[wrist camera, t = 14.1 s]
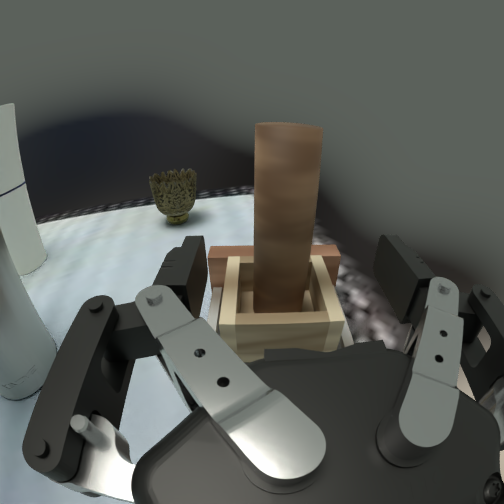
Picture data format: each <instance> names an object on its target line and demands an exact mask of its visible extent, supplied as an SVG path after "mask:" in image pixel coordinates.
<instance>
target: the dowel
mask: <svg viewBox="0 0 504 504" xmlns="http://www.w3.org/2000/svg"><path fill="white" fill-rule="evenodd" d="M322 138H323V128H321V127H318V126H313V125H307V124H299V123H285V122H283V123H282V122H265V123H257V124H255V186H254V265H253V311H254V313H293V312H301V311H302V305H303V299H304V293H305V287H306V280H307V274H308V267H309V260H310V253H311V245H312V238H313V230H314V222H315V212H316V203H317V195H318V185H319V175H320V163H321V151H322Z"/></svg>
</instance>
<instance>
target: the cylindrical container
mask: <svg viewBox="0 0 504 504" xmlns="http://www.w3.org/2000/svg"><path fill="white" fill-rule="evenodd" d="M0 228H1V231H2V234H3V237H4V240H5V242H6V245H7V248H8V250H9V253H10V255H11V258H12V260H13V263H14V265H15V268H16V270H17V272H18V274H19V276H22V275H26V274H28V273H30V272H32V271H34V270H36V269H37V268H38V267H40V266H41V265H42V264H43V263H44V261H45V260H46V258H47V254H46V251H45V249H44V246H43V243H42V240H41V237H40V234H39V231H38V228H37V225H36V221H35V218H34V215H33V211H32V207H31V204H30V200H29V196H28V192H27V188H26V183H25V179H24V175H23V169H22V164H21V158H20V152H19V146H18V138H17V130H16V121H15V108H14V103H11V104H5V105H1V106H0Z"/></svg>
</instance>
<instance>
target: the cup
mask: <svg viewBox="0 0 504 504" xmlns="http://www.w3.org/2000/svg"><path fill="white" fill-rule="evenodd" d="M149 179H150V180H149V182H150V186H151V190H152V194H153V197H154V201H155V203H156V206H157V208H158V210H159V211H160V212H161V213H163V214H164V215H167V218H166V219H167V221H168V222H169V223H170V224H182V223H184V222H186V221H187V220H188V217H189V214H188V212H189V211H190V210H191V209H192V207H193V205H194V203H195V197H196V174H195V171H192V170H191V169H188V170H187V171H186V173H185V171H184V169H182V171H181V173H179V172H178V171H177V170H176V169H175V170H174V172H172V171H171V170H169V171H168V173H167V176H166V175H165V173H164V172H162V173H161V176H159V175H158V174H156V173H155V174H154V175H153V177H151V176H150V177H149Z"/></svg>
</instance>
